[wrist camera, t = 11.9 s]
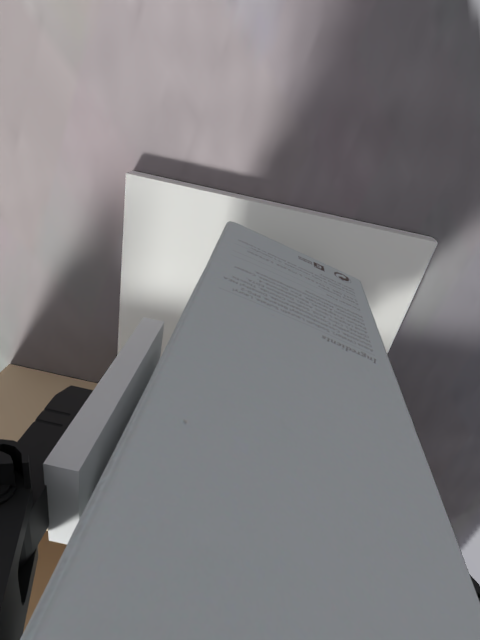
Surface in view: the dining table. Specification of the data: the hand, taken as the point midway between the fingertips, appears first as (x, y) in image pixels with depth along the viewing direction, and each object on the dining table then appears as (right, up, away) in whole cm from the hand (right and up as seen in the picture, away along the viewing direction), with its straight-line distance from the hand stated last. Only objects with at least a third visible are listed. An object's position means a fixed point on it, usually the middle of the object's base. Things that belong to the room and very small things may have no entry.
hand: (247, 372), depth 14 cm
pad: (+1, +3, +5) cm, 5 cm away
